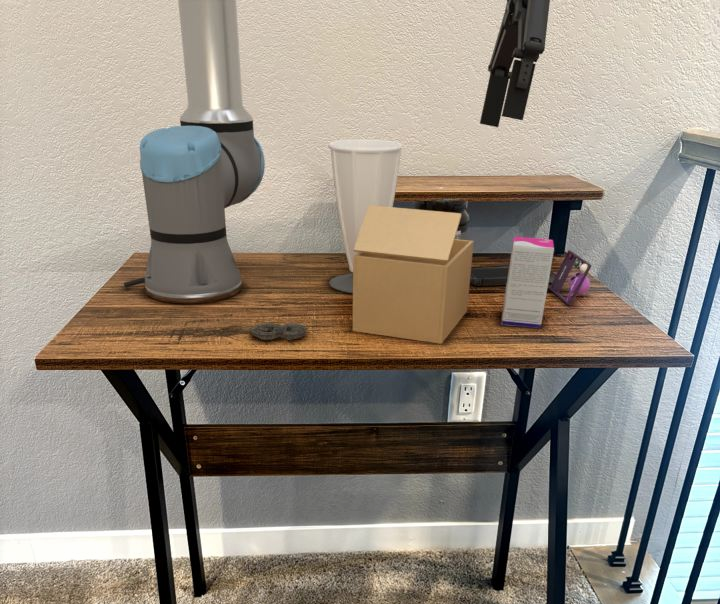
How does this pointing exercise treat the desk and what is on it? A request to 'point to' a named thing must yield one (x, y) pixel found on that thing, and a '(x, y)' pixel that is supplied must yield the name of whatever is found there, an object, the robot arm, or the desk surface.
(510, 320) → the supplement box
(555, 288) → the purple monster toy box
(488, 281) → the phone
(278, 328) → the corroded twin loop
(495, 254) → the desk surface
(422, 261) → the carton
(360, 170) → the cup
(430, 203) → the supplement container
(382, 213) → the flap
